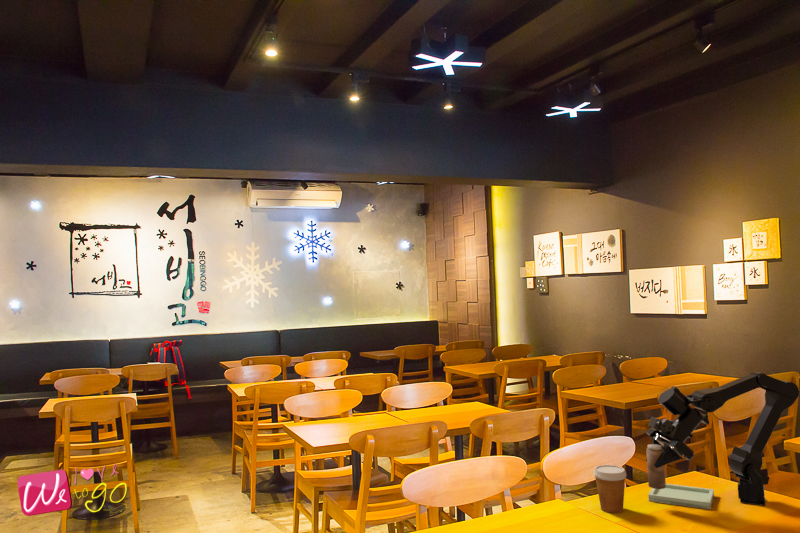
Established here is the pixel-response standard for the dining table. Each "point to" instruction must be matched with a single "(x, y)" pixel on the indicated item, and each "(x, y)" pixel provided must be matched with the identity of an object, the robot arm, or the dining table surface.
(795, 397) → the robot arm
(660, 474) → the pepper mill
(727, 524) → the dining table surface
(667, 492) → the tray
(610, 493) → the disposable coffee cup
